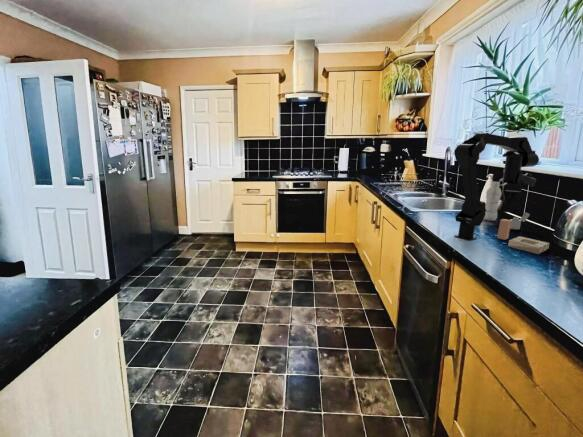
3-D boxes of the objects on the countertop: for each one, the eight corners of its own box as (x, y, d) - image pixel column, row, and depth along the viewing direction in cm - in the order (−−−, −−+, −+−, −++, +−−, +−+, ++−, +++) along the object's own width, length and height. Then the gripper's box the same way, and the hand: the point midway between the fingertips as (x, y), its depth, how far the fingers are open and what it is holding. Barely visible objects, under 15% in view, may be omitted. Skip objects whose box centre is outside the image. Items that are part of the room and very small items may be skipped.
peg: (504, 239, 133) (508, 221, 131) (497, 237, 136) (500, 219, 134) (508, 238, 135) (511, 220, 133) (500, 236, 137) (503, 218, 135)
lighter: (509, 228, 150) (513, 212, 148) (508, 227, 152) (511, 211, 150) (526, 230, 149) (530, 213, 147) (524, 229, 151) (528, 212, 149)
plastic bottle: (481, 218, 170) (488, 180, 165) (496, 220, 166) (504, 182, 161) (480, 220, 164) (487, 182, 160) (495, 222, 161) (503, 183, 156)
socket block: (538, 254, 117) (539, 247, 116) (507, 246, 125) (509, 240, 124) (548, 249, 123) (549, 243, 122) (518, 242, 130) (519, 236, 130)
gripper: (541, 170, 122) (533, 210, 126) (532, 166, 138) (525, 201, 142) (506, 169, 127) (500, 208, 131) (501, 165, 143) (496, 199, 147)
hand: (506, 204), depth 137 cm, fingers open, 9 cm apart
